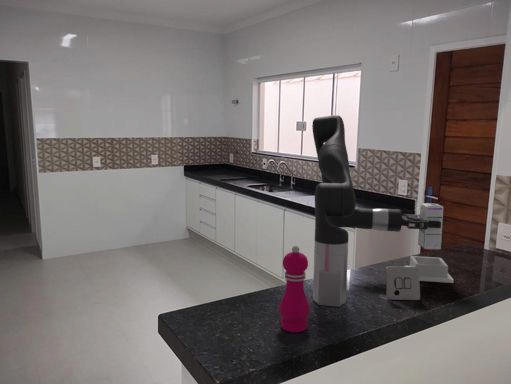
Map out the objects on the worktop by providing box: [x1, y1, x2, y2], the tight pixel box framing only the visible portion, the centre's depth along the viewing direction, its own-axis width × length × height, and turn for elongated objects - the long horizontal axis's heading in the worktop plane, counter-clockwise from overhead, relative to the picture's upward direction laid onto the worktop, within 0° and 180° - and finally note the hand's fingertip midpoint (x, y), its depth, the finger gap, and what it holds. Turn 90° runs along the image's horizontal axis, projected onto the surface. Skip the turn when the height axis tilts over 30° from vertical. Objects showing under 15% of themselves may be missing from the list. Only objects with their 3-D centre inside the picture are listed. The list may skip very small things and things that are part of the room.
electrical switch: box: [384, 265, 421, 301], centre depth 120 cm, size 9×5×9 cm, turn 88°
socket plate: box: [404, 255, 454, 284], centre depth 140 cm, size 13×13×5 cm
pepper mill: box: [278, 245, 310, 333], centre depth 100 cm, size 7×7×20 cm
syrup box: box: [417, 202, 444, 250], centre depth 139 cm, size 6×6×14 cm
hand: (438, 222), depth 138 cm, fingers closed on syrup box, 6 cm apart
